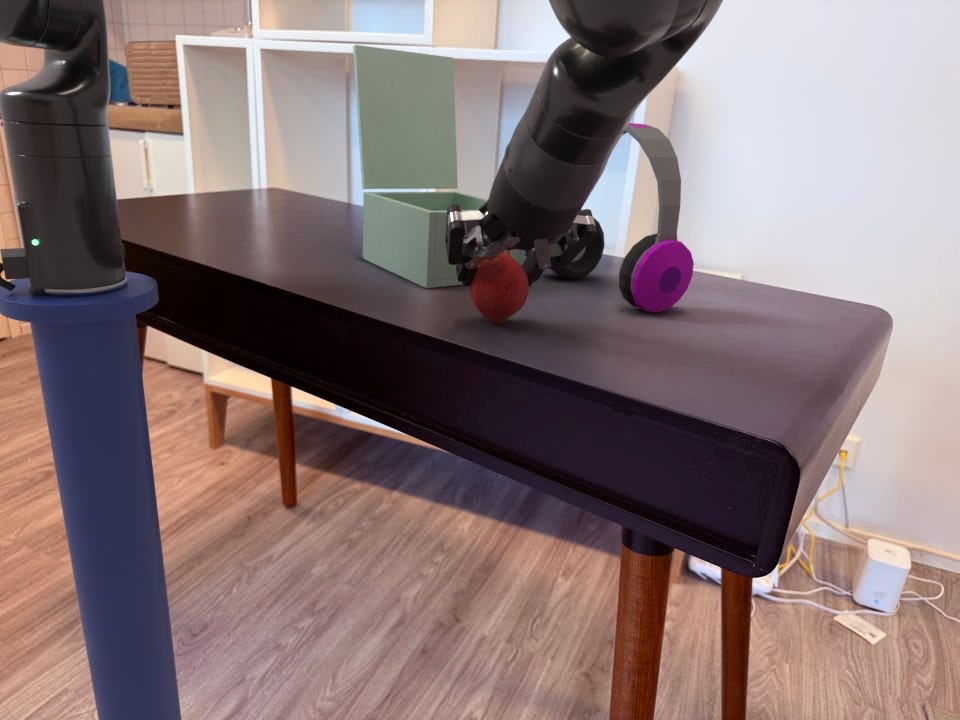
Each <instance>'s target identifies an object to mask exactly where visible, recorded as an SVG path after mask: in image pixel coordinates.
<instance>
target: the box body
mask: <svg viewBox="0 0 960 720" xmlns="http://www.w3.org/2000/svg"><path fill="white" fill-rule="evenodd" d="M362 194H363V195H362V196H363V197H362V198H363V199H362V201H363V204H362V205H363V209H362V259H363V260H365V261H367V262H369V263H372V264H374V265H375V266H378V267H379V268H382V269H384V270H386V271H388V272H390V273H393V274H395V275H397V276H399V277H401V278H404V279H405V280H407V281H410V282H412V283H413V284H416V285H419V286H421V287H423V288H425V289H433V288H434V289H435V288H442V287H452V286H453V287H454V286H462V282H458V279H457V272H456V265H451V264H449V263H448V257H447V250H446V243H445V234H446V217H447V207H448V206H449V205H452V204H458V205H460V207H461V212H468V211H478V210H479V208H480V207H481V206H482V205H483V204H484V203H485V202H487V200H488V199H489V198H484V197H480V196H475V195H471V194H467V193H463V192H459V191H377V192H376V191H373V192H371V191H368V192H367V191H364V192H363V193H362ZM475 228H476V227H474V228H472V230H471V232H470V233H468V235H469V237H470V236H471V235H472V234H474V232H475ZM469 237H468V238H469ZM468 238H467V239H468ZM467 239H463V242H464V241H465V240H467ZM477 249H478V246H477V247H476V251H477ZM509 253H510V256H511V257H512V258H514V259H515V260H516V261H517V262H518V263H519V264H520V265H521V266H522V264H523V263H524V261H525V253H526V250H519V249H513V250H510V251H509Z"/></svg>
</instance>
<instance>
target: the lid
mask: <svg viewBox="0 0 960 720" xmlns="http://www.w3.org/2000/svg"><path fill="white" fill-rule="evenodd" d="M352 54H353V66H354V67H353V68H354V82H355V83H354V84H355V85H354V86H355V99H356V101H355V102H356V113H357V114H356V115H357V128H358V146H359V160H360V161H359V162H360V175H361V189H362V190H430V189H431V190H440V189H441V190H442V189H443V190H447V189H448V190H451V189H453V190H454V189H455V190H457V189H459V185H458V182H459V181H458V158H457V155H458V154H457V153H458V152H457V128H456V101H455V74H454V73H455V72H454V57H452V56H446V55H445V56H444V55H437V54H430V53H421V52H415V51H408V50H407V51H406V50H398V49H391V48H384V47H376V46H368V45H360V44H354V45H352Z"/></svg>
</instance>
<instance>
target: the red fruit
mask: <svg viewBox="0 0 960 720" xmlns="http://www.w3.org/2000/svg"><path fill="white" fill-rule="evenodd" d="M509 251H510V250H505V251H503V252H502V253H501V254H499V255H498V256H497V257H496V258H494V259H493V260H487V259H486V260H485V261H484V262H482V263H481V264H480V265H479V266H478V270H477V272H476V274H475V276H474V279H473V281H472V283H471V285H470V286H469V297H470V299H471V301H472V303H473V305H474V308H476V310H477V311H478V312H479V313H480V314H481V315H482V316H483V317H484V318H486V319H487V320H488V321H489V322H491V323H492V324H493V325H502V324H503V323H504V322H505V321H506V320H508V319H509V318H510V317H512V316H514V315H515V314H517V313H518V312H519V311H520V310H521V309H522V308H523V307H524V305H525V304H526V302H527V299H528V295H529V290H530V289H529V288H530V287H529V282H528V278H527V275H526V273H525V271H524V269H523V268H522V266H521V265H520V264H519V263H518V262H517V261H516V260H515V259H514V258H512V257H511V256H510V253H509Z"/></svg>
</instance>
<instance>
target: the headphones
mask: <svg viewBox="0 0 960 720" xmlns="http://www.w3.org/2000/svg"><path fill="white" fill-rule="evenodd" d="M627 133H628V134H629V136H631V138H633V139H634V140H635V141H636V142H637V143H638V144H639V146H640V147H641V149H642V150H643V153H644V154H645V155H646V157H647V159H648V161H649V164H650V166H651V168H652V171H653V174H654V177H655V179H656V183H657V185H656V186H657V198H658V217H657V232H656V233H653V234H649V235H645V236H644V237H643V238H642V239H640V240H639V241H637V242H636V243H635V244H633V246H632V247H631V248H630V249H629V251H628V252H627V254H626V255H625V256H624V258H623V261H622V264H621V266H620V269H619V272H618V273H619V275H618V276H619V277H618V278H619V279H618V287H619V291H620V293H621V296H622V298H623V299H624V301H626V302H627V303H628V304H630V305H631V306H632V307H635V308H640V309H641V311H644V312H651V313H660V312H663V311H666V310H669V309H670V308H671V307H673V306H674V305H675V304H677V303H678V302H679V301H680V300H681V298H682V297H683V296H684V294H685V293H686V292H687V291H688V288H689V286H690V284H691V282H692V279H693V274H694V265H695V263H694V259H693V255H692V251H691V250H690V249H689V248H688V247H687V246H686V245H685V244H684V243H683V241H680V240H678V228H679V227H678V226H679V219H680V212H681V200H682V199H681V197H682V195H681V194H682V177H681V171H680V166H679V165H680V164H679V160H678V156H677V153H676V151H675V149H674V147H673V145H672V142H671V140H670V139H669V138H668V137H667V136H666V135H665V134H664V132H663V131H661V130H660V128H659V127H655V126H651V125H649V124H646V123H636V122H635V123H633V122H630V123H629V125H628V126H627V128H626V130H625V131H624V133H623V135H622V136H624V135H625V134H627ZM582 210H583V209H582V208H581V210H580V211H582ZM593 219H594V223H595V228H596V232H597V235H596V236H595V237H594V238H593V239H592V240H591V241H590V242H589V244H588V245H587V246H586V247H585V248H584V249H583V250H582V251H581V252H580V253H579V254H578V255H577V256H576V257H575V258H574V259H573V260H572V261H571V263H570V264H568V265H566V266H559V265H558V263H552V264H551V266H550V267H549V268H548V269H549V270H551V272H553V273H554V274H555V275H559V276H560V277H562V278H565V279H570V280H577V279H581V278H582V279H583V278H584V277H587V276H588V275H589V274H591V273H592V272H593V271H594V270H595V269H596V268H597V266H598V264H599V263H600V262H601V260H602V259H603V258H602V257H603V253H604V249H605V232H604V230H603V228H602V226H601V223H600V222H599V221H598V220H597V219H596V218H595V217H594V216H593ZM557 238H558V237H556V238H554V239H553V240H551V241H549V242H547V243H548V245H551V244H554V241H555V240H556V239H557Z"/></svg>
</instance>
